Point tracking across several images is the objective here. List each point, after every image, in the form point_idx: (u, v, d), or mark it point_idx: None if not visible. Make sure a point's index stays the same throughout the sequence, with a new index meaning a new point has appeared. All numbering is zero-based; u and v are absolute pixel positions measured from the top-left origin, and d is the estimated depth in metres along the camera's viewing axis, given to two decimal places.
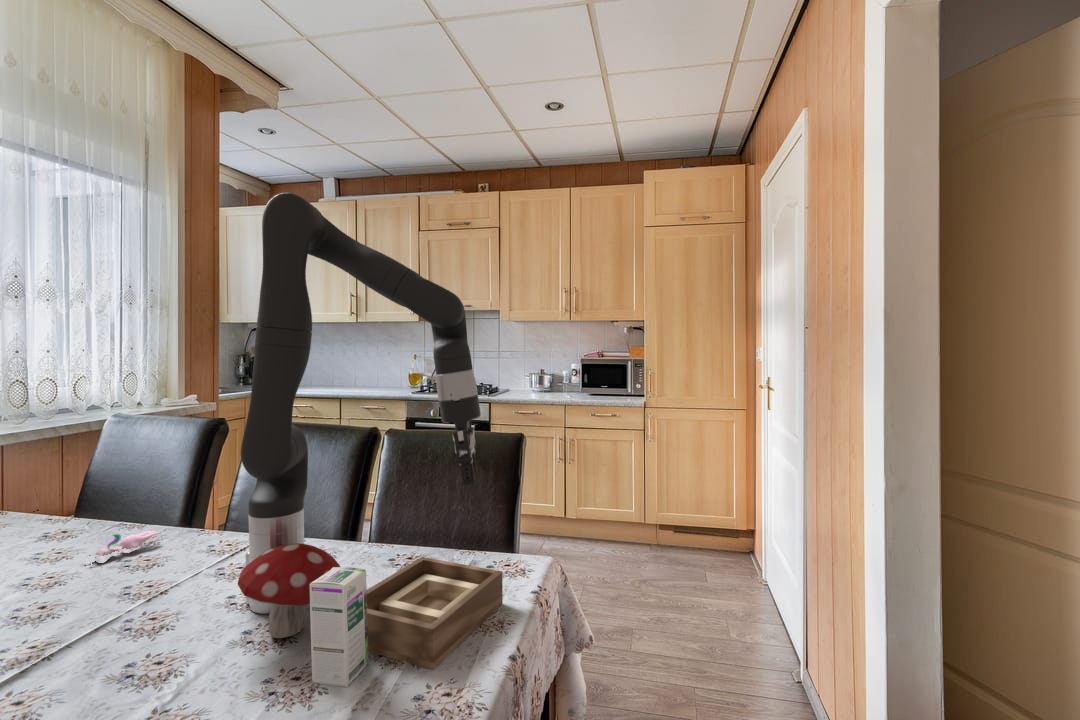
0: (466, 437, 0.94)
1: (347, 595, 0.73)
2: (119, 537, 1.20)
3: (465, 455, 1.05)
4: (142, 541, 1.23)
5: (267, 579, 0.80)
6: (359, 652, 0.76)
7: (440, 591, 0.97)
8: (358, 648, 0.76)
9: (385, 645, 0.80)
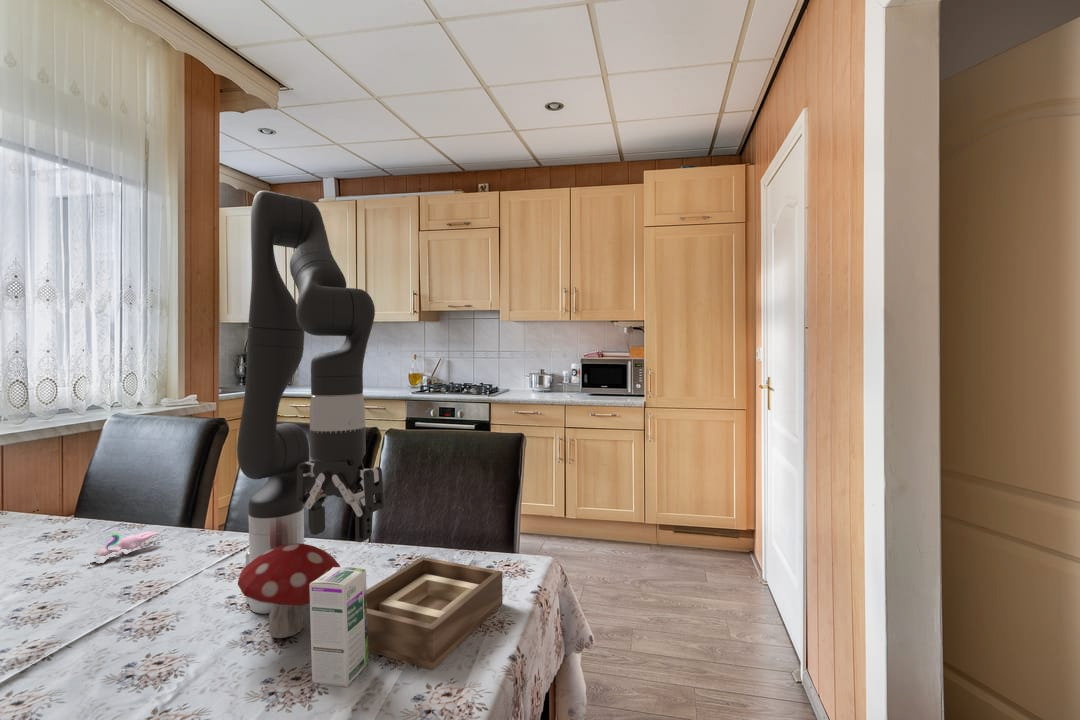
0: None
1: (347, 594, 0.73)
2: (118, 538, 1.20)
3: None
4: (141, 542, 1.23)
5: (267, 579, 0.80)
6: (359, 652, 0.76)
7: (440, 591, 0.97)
8: (358, 648, 0.76)
9: (385, 645, 0.80)
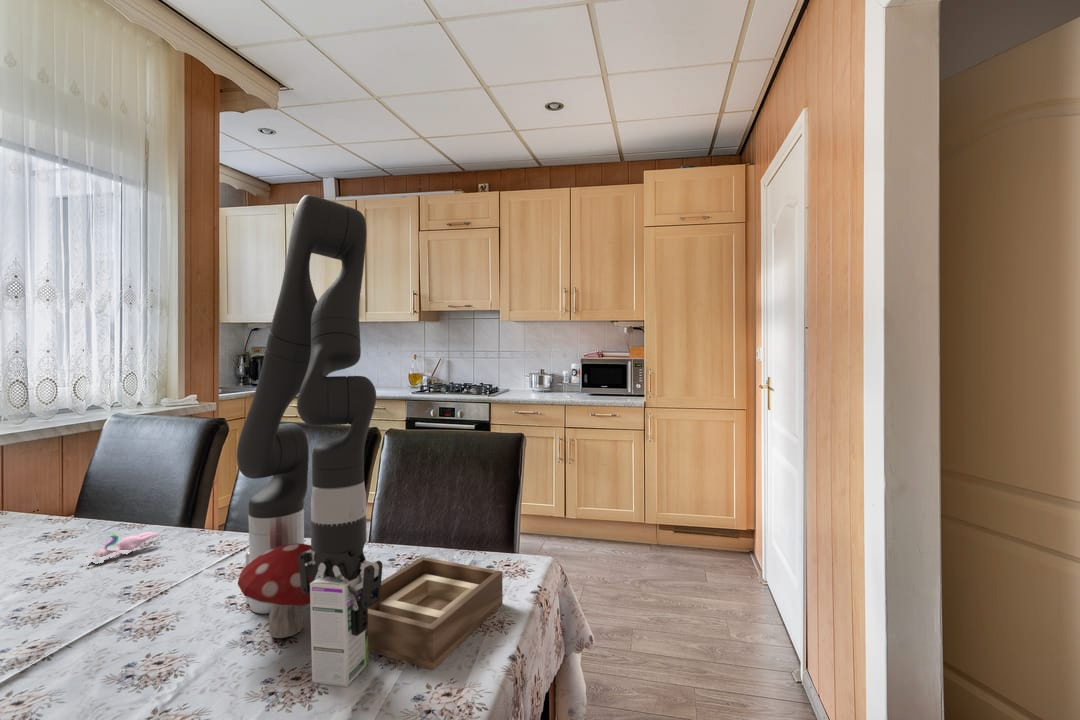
0: None
1: None
2: (117, 538, 1.19)
3: None
4: (140, 542, 1.23)
5: (267, 579, 0.80)
6: (359, 652, 0.76)
7: (440, 591, 0.97)
8: (358, 648, 0.76)
9: (385, 645, 0.80)
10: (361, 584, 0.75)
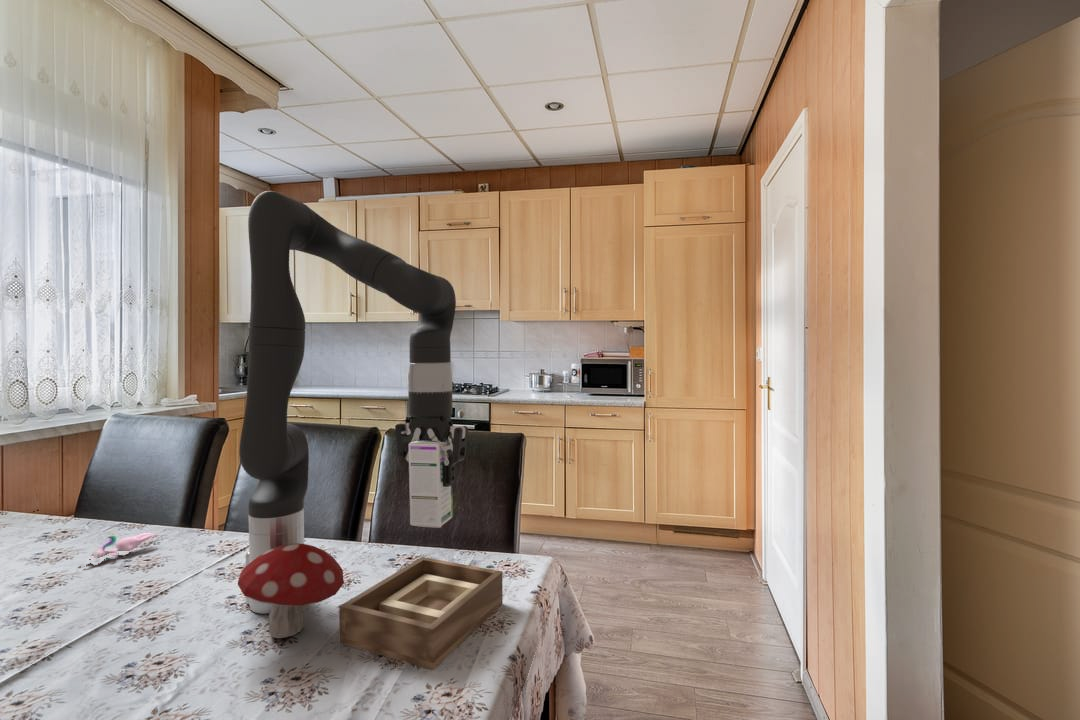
0: (396, 431, 0.93)
1: (440, 452, 0.89)
2: (114, 539, 1.19)
3: None
4: (138, 543, 1.22)
5: (267, 579, 0.80)
6: (447, 503, 0.91)
7: (440, 591, 0.97)
8: (446, 500, 0.91)
9: (385, 645, 0.80)
10: (449, 446, 0.91)
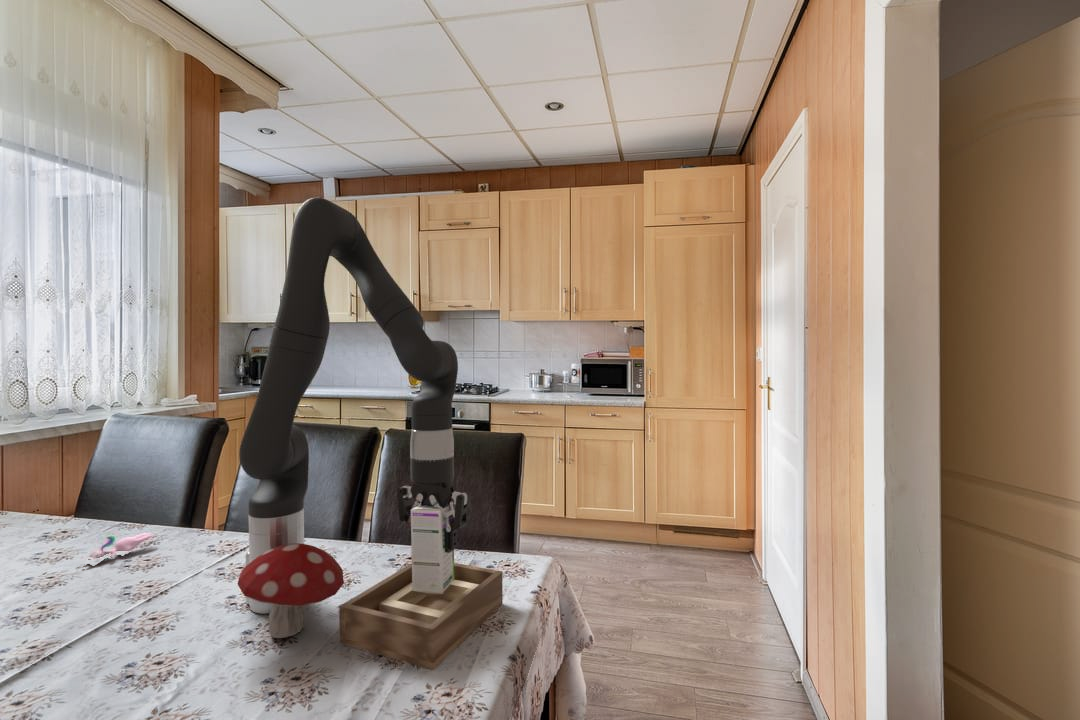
0: None
1: None
2: (113, 539, 1.19)
3: None
4: (137, 543, 1.22)
5: (267, 579, 0.80)
6: (449, 568, 0.92)
7: None
8: (448, 564, 0.92)
9: (385, 645, 0.80)
10: (451, 511, 0.92)
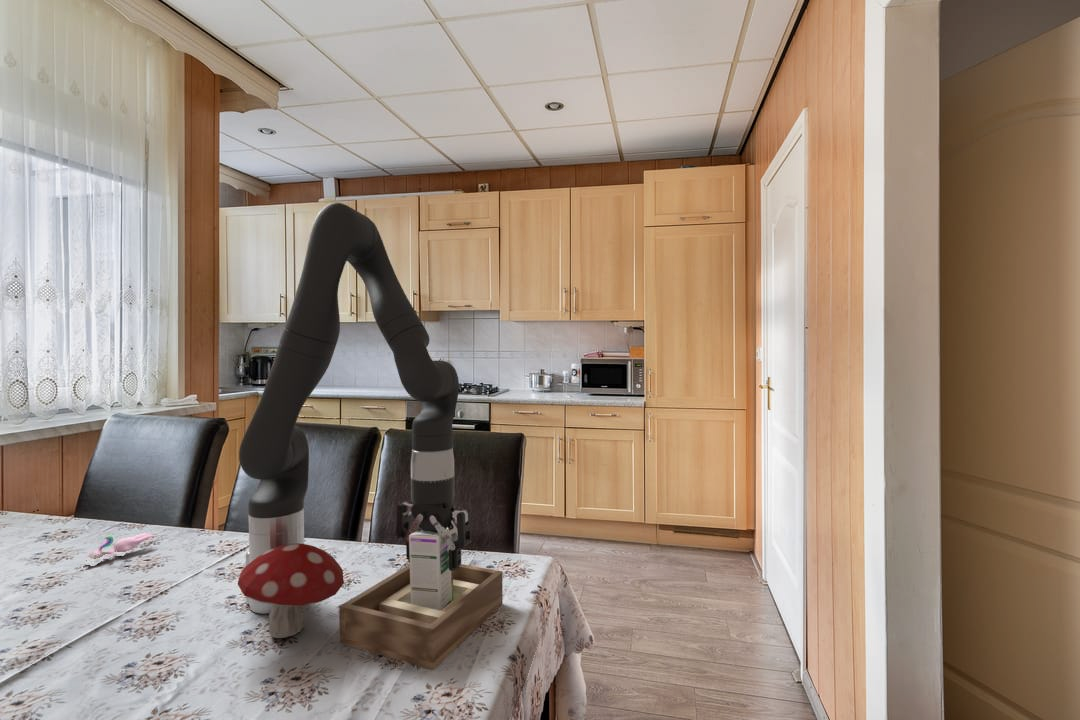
0: None
1: (440, 544, 0.90)
2: (111, 540, 1.18)
3: None
4: (135, 544, 1.22)
5: (267, 579, 0.80)
6: (448, 593, 0.92)
7: None
8: (447, 590, 0.92)
9: (385, 645, 0.80)
10: (453, 530, 0.91)
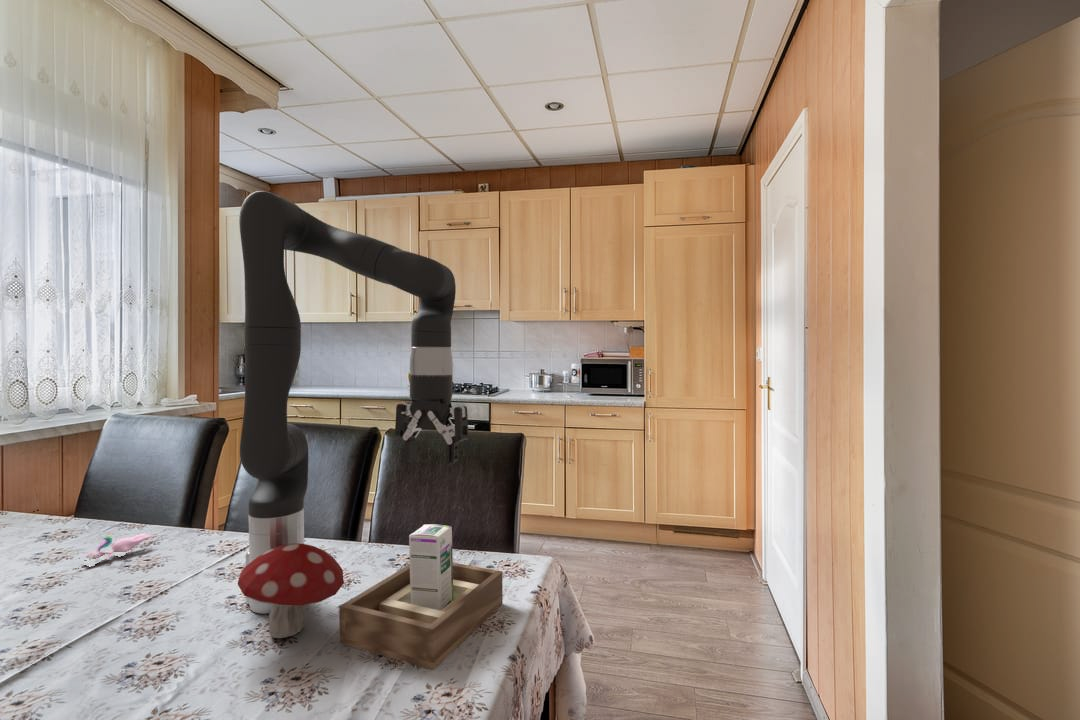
0: None
1: (440, 544, 0.90)
2: (110, 540, 1.18)
3: None
4: (134, 544, 1.21)
5: (267, 579, 0.80)
6: (448, 593, 0.92)
7: None
8: (447, 590, 0.92)
9: (385, 645, 0.80)
10: (451, 427, 0.93)
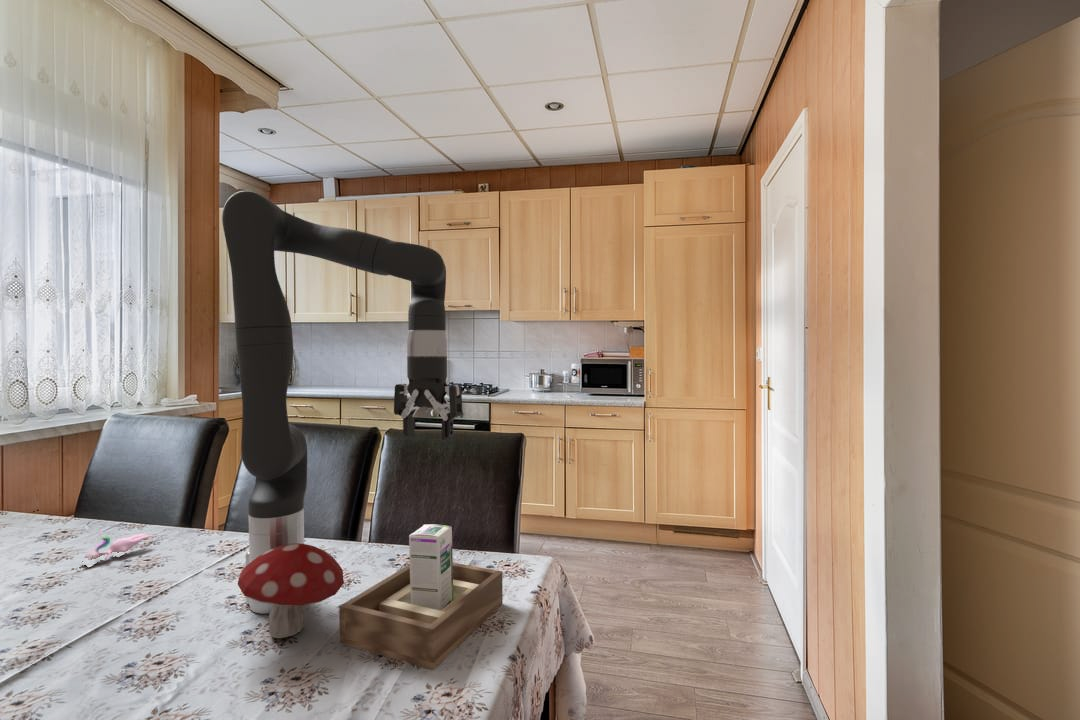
0: (395, 391, 1.02)
1: (440, 544, 0.90)
2: (108, 540, 1.18)
3: None
4: (132, 545, 1.21)
5: (267, 579, 0.80)
6: (448, 593, 0.92)
7: None
8: (447, 590, 0.92)
9: (385, 645, 0.80)
10: (446, 404, 1.00)
